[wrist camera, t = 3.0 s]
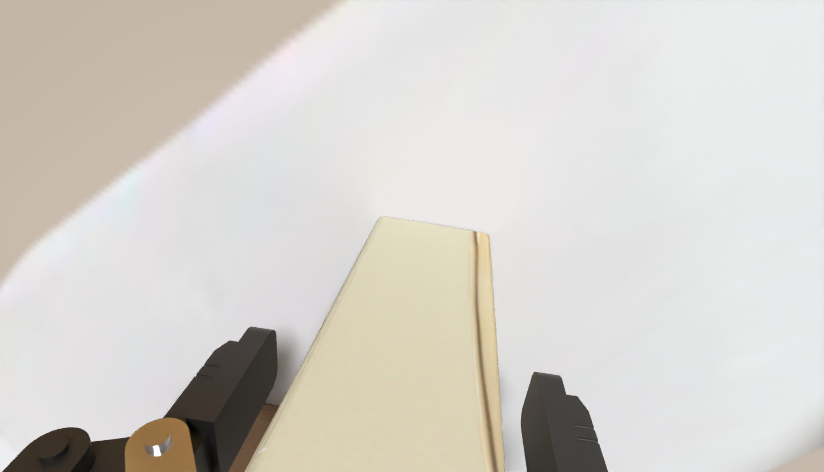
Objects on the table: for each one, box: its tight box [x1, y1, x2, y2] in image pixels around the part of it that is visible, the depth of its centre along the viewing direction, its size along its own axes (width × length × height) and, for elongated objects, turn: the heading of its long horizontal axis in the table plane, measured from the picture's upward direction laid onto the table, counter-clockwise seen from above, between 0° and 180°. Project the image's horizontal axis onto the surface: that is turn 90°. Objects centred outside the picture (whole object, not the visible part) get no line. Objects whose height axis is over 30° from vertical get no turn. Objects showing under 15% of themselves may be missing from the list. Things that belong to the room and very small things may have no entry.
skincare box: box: [245, 217, 505, 472], centre depth 12 cm, size 6×4×12 cm
